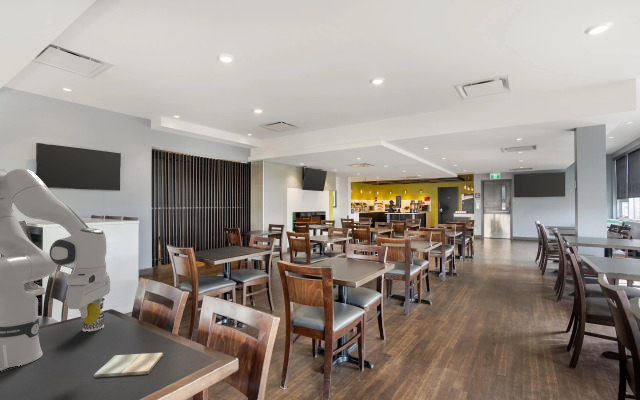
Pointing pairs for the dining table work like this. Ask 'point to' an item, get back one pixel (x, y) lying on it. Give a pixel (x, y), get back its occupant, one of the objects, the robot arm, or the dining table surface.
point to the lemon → (92, 314)
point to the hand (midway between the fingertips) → (90, 313)
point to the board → (129, 365)
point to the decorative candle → (98, 323)
